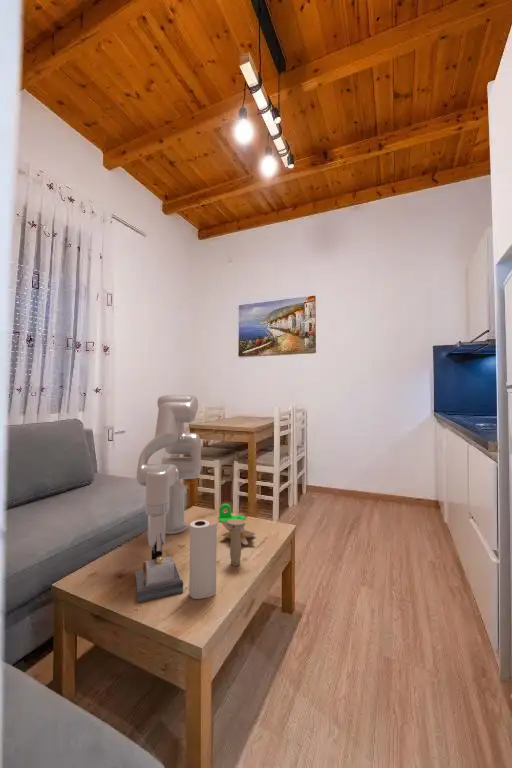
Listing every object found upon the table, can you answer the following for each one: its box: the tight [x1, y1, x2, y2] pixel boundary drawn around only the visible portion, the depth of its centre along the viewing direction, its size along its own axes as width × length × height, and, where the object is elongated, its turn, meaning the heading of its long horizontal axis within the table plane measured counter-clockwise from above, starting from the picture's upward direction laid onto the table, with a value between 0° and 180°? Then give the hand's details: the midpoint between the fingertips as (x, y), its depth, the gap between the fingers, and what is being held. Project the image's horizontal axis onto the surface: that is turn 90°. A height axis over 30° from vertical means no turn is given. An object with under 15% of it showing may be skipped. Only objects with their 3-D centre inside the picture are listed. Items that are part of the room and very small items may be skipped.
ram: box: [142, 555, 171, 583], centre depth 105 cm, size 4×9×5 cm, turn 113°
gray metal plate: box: [134, 562, 184, 603], centre depth 105 cm, size 16×13×3 cm
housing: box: [145, 555, 175, 588], centre depth 101 cm, size 5×8×8 cm, turn 113°
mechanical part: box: [218, 503, 245, 523], centre depth 156 cm, size 12×6×8 cm, turn 94°
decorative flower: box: [220, 521, 256, 545], centre depth 135 cm, size 15×11×10 cm
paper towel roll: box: [188, 519, 218, 600], centre depth 99 cm, size 7×6×21 cm
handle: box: [227, 518, 246, 567], centre depth 117 cm, size 5×6×15 cm
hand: (156, 562), depth 109 cm, fingers closed
